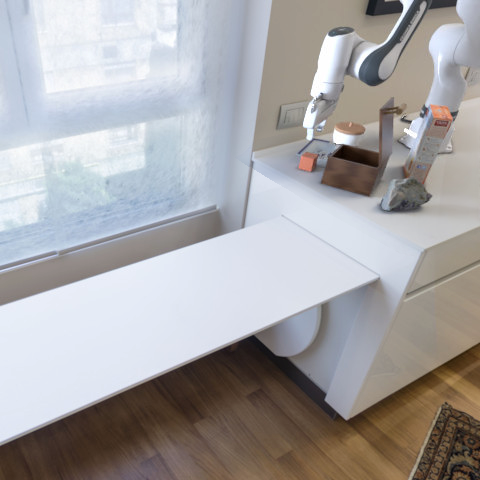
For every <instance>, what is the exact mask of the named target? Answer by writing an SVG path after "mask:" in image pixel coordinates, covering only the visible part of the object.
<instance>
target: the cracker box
mask: <svg viewBox="0 0 480 480" xmlns="http://www.w3.org/2000/svg"><path fill="white" fill-rule="evenodd" d="M452 122H453V118H452V116H451V114H450V111H449V109H448V107H447V106H441V105H432V104H430V105H429V106H428V109H427V111H426V114H425V116H424V118H423V121H422V123H421V126H420V128H419V131H418V133H417V135H416V138H415V140H414V143H413V145H412V147H411V148H410V150H409V152H408V155H407V157H406V159H405V162H404V164H403V171H404V179H407V178H410V177H411V176H412V177H414V178H415V179H417V180H418V181H419V182H421V183H422V184H423V185H424V184H425V182H426V180H427V178H428V175H429V173H430V171H431V169H432V167H433V165H434V162H435V160H436V159H437V156H438V154H439V153H438V152H439V150H440V147H441V145H442V143H443V141H444V139H445V137H446V134H447V132H448V130H449V128H450V126H451V124H452ZM453 123H454V122H453Z"/></svg>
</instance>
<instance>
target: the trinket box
mask: <svg viewBox="0 0 480 480" xmlns="http://www.w3.org/2000/svg"><path fill="white" fill-rule="evenodd" d="M365 132H366V128H365V126H364V125H362V124H359V123H356V122H353V121H341V122H337V123H336V124H335V125H334V129H333V134H332V142H333V144H334V143H336V144H346V145H350V146H355V147H358V146H359V144H360V143H361V141H362V140H363V137H364V134H365Z"/></svg>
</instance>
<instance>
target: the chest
mask: <svg viewBox="0 0 480 480" xmlns="http://www.w3.org/2000/svg"><path fill="white" fill-rule="evenodd" d="M390 158H391V156H390V157H389V158H388V160H387V161H386V162H385V164H384V165H383V166H382V168H379V151H376V150H372V149H367V148H363V147H359V146H356V147H355V146H350V145H346V144H341V145H340V146H339V147H338V148H336V149H334V150H333V152H332V153H331V154H329V155H328V156H327V160H326V163H325V166H324V171H323V174H322V177H321V181H320V184H321V185H326V186H329V187H333V188H337V189H339V190H340V189H341V190H344V191H348V192H351V193H354V194H358V195H362V196H365V197H371V195H372V194H373V193H374V191H375V189H377V187H378V185H379V184H380V183H381V181H382V179H383V176H384V173H385V170H386V168H387V165H388V163H389V160H390Z"/></svg>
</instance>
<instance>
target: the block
mask: <svg viewBox="0 0 480 480" xmlns="http://www.w3.org/2000/svg"><path fill="white" fill-rule="evenodd" d="M318 159H319V154H317V153H313V152H309V151H305V152H304V153H303V154H302V155H301V156H300V160H299V165H298V170H303V171H307V172H309V173H310V172H312V171H313V170H314V169H315V168H316V166H317V163H318Z"/></svg>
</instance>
